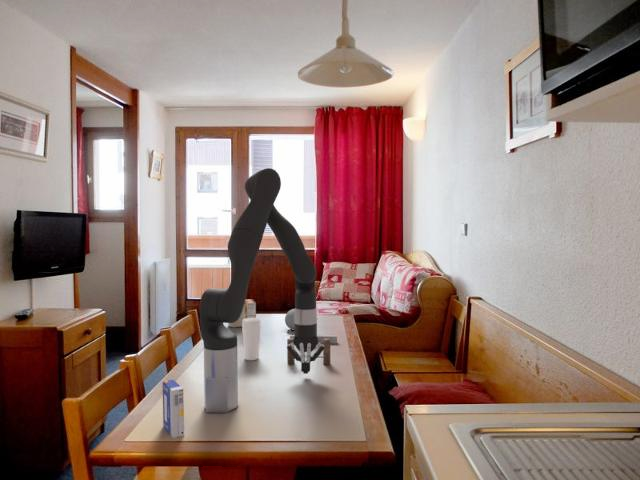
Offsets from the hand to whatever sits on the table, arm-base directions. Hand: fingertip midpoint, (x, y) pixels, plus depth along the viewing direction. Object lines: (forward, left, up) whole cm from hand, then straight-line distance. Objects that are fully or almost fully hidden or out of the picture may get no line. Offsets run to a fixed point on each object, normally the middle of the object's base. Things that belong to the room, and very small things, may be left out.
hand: (305, 372), depth 149 cm
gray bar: (+42, 0, -2) cm, 42 cm away
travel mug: (+71, +40, -2) cm, 82 cm away
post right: (+14, -6, -2) cm, 16 cm away
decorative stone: (+64, +10, -2) cm, 65 cm away
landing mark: (+29, 0, -2) cm, 29 cm away
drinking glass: (+19, +22, -2) cm, 29 cm away
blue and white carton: (-39, +30, -2) cm, 49 cm away
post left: (+14, +6, -2) cm, 16 cm away
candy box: (+56, +30, -2) cm, 64 cm away
